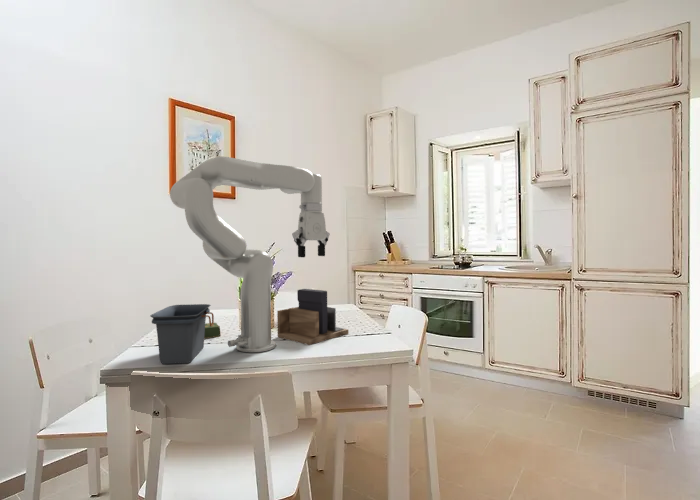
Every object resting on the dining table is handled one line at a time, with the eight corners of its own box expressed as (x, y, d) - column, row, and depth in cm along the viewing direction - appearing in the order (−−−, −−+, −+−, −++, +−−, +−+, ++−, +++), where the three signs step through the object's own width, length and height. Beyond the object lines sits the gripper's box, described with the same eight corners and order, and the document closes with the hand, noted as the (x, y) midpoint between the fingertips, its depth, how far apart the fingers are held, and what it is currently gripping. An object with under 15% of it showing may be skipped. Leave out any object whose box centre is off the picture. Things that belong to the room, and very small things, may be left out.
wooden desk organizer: (309, 344, 138) (308, 314, 138) (277, 337, 148) (277, 309, 148) (348, 333, 153) (348, 306, 153) (317, 327, 164) (317, 301, 163)
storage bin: (171, 347, 136) (169, 303, 136) (219, 345, 138) (219, 302, 138) (147, 368, 115) (146, 317, 115) (205, 365, 117) (204, 315, 116)
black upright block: (329, 332, 149) (328, 290, 148) (321, 334, 146) (321, 291, 145) (305, 328, 155) (304, 288, 155) (297, 330, 152) (297, 289, 151)
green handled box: (170, 337, 150) (170, 326, 150) (216, 332, 158) (216, 321, 157) (172, 343, 143) (172, 330, 143) (220, 337, 150) (220, 325, 150)
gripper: (300, 207, 140) (300, 258, 141) (335, 209, 153) (335, 255, 154) (285, 208, 145) (286, 257, 146) (321, 210, 158) (321, 255, 159)
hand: (311, 256), depth 150 cm, fingers open, 9 cm apart
